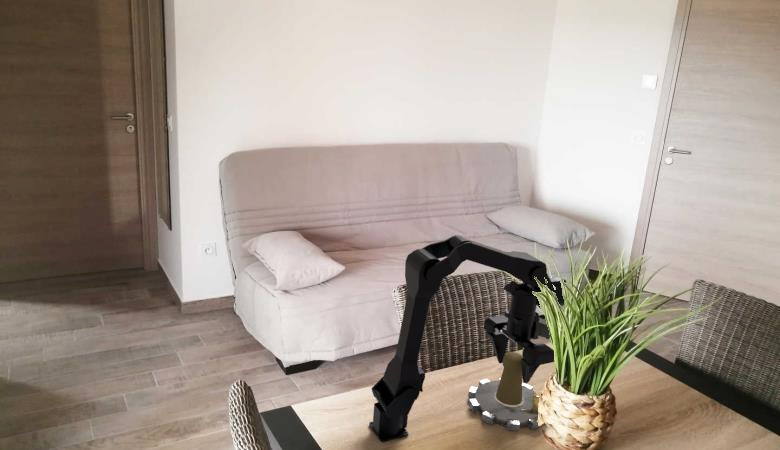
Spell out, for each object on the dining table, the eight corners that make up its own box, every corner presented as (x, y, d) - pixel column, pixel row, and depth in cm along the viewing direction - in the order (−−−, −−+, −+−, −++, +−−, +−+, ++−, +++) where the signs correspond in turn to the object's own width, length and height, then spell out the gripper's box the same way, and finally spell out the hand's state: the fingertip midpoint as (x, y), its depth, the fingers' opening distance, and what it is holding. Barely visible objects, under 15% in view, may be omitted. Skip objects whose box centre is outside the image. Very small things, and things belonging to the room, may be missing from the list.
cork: (522, 407, 131) (529, 364, 128) (495, 402, 132) (501, 359, 129) (522, 393, 137) (528, 351, 134) (496, 388, 138) (502, 346, 135)
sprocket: (524, 442, 123) (528, 418, 121) (452, 405, 134) (455, 382, 132) (562, 407, 136) (566, 385, 135) (494, 376, 148) (497, 355, 146)
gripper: (580, 323, 124) (568, 387, 128) (524, 290, 140) (515, 348, 144) (539, 330, 119) (528, 397, 123) (486, 295, 135) (478, 355, 139)
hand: (512, 372), depth 133 cm, fingers open, 9 cm apart
